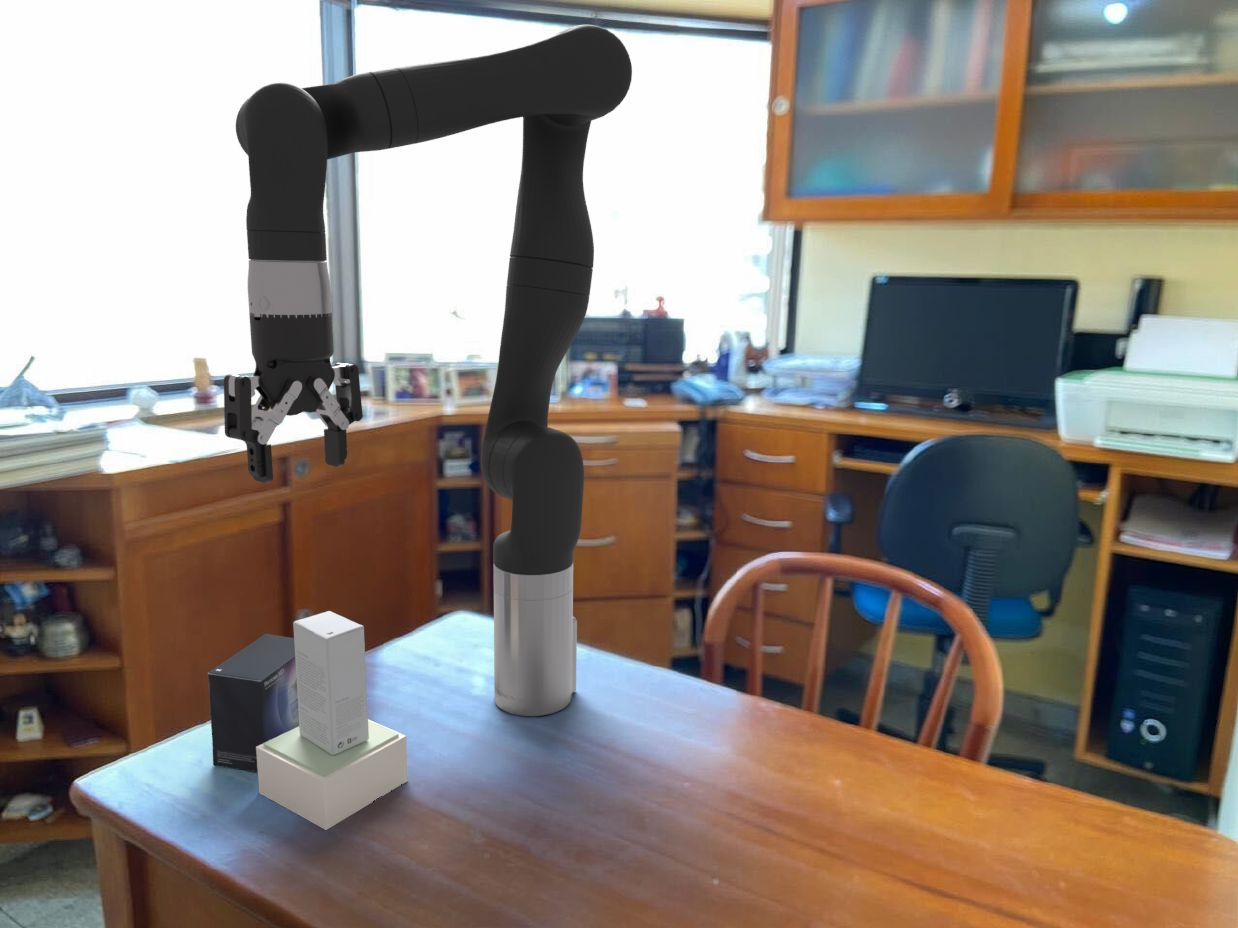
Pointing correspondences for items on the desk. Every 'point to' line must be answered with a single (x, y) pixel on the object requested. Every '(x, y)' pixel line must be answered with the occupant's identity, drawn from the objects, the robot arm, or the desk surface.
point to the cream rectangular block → (331, 773)
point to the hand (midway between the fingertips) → (300, 472)
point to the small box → (252, 700)
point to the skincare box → (331, 681)
